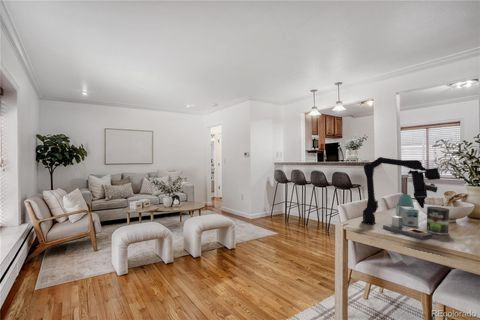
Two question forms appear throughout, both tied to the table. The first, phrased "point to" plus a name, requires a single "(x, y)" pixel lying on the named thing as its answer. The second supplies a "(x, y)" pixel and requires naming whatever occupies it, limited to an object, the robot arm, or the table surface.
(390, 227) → the rail
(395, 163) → the robot arm
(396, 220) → the steel peg
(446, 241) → the table surface
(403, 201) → the vase
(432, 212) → the coffee can
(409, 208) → the light bulb box
